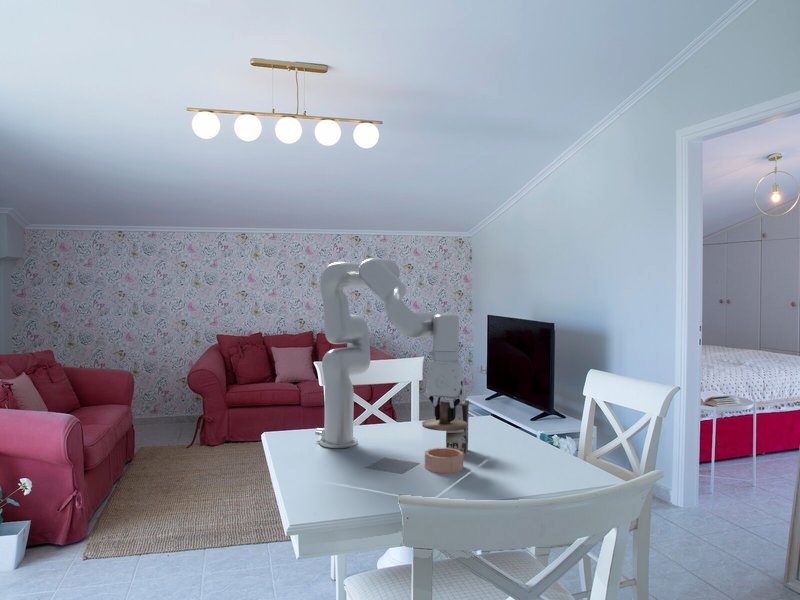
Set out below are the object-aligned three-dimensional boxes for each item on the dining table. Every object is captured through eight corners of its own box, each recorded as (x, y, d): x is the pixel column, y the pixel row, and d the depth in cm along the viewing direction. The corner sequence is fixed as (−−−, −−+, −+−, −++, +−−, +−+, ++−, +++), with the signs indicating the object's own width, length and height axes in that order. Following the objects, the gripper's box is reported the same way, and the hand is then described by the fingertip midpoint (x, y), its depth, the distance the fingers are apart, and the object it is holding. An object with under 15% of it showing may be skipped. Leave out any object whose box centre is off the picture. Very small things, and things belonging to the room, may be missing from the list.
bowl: (418, 470, 179) (418, 454, 179) (433, 460, 189) (434, 446, 189) (454, 476, 174) (454, 460, 174) (468, 466, 184) (468, 451, 184)
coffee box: (465, 457, 194) (466, 405, 194) (445, 455, 195) (446, 404, 195) (468, 449, 203) (469, 399, 203) (448, 448, 204) (449, 398, 204)
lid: (414, 427, 178) (415, 403, 178) (433, 419, 190) (433, 396, 190) (457, 432, 172) (457, 408, 172) (473, 423, 184) (474, 400, 184)
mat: (364, 468, 180) (364, 467, 180) (384, 458, 191) (384, 457, 191) (401, 475, 174) (401, 473, 174) (420, 464, 185) (420, 463, 185)
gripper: (414, 356, 181) (413, 419, 182) (467, 359, 174) (467, 425, 174) (425, 353, 188) (424, 415, 188) (477, 357, 180) (476, 420, 181)
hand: (445, 419), depth 181 cm, fingers closed on lid, 3 cm apart
